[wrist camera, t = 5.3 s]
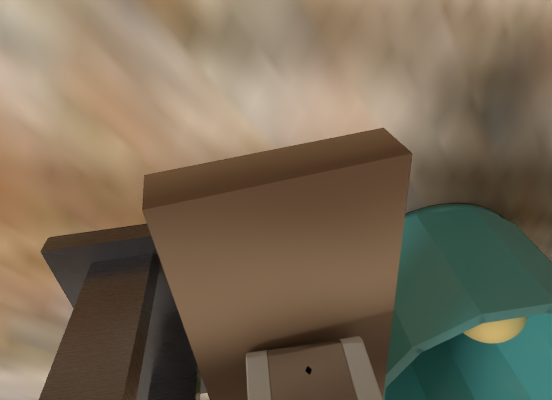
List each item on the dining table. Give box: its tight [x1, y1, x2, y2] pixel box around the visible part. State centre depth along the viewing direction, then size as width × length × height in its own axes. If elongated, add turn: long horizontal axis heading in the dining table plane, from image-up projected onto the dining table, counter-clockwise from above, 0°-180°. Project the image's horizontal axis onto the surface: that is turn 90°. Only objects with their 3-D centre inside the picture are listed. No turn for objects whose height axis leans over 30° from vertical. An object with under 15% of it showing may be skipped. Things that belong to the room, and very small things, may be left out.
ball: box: [463, 316, 528, 344], centre depth 22 cm, size 4×4×4 cm
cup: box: [383, 203, 552, 400], centre depth 22 cm, size 11×11×7 cm
